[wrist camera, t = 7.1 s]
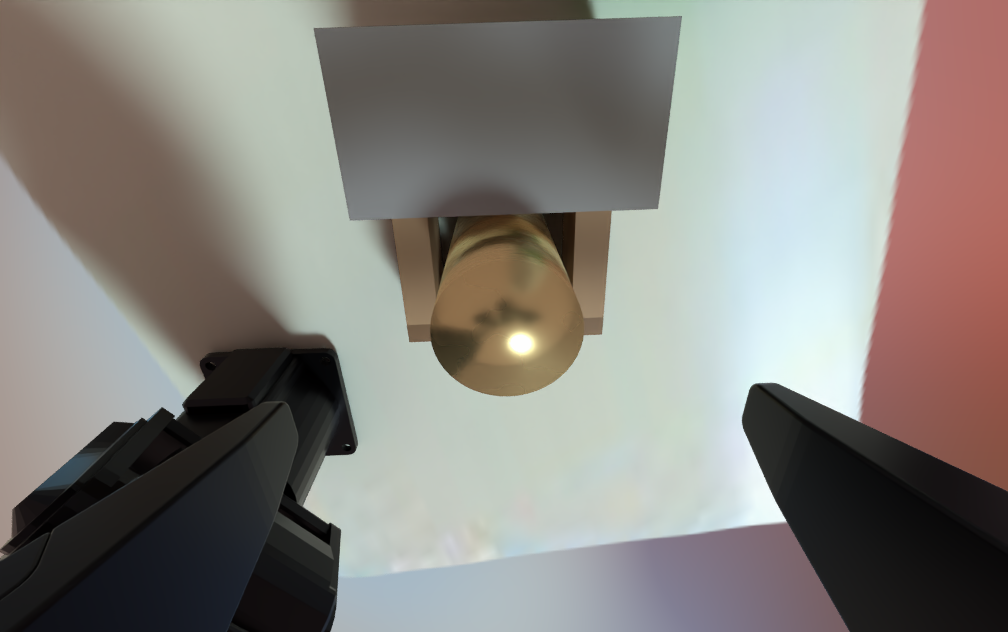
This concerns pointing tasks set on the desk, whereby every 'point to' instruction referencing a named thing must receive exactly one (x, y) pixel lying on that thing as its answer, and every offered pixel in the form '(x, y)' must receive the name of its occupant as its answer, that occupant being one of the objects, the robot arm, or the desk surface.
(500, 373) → the peg
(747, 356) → the desk surface
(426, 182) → the socket block
